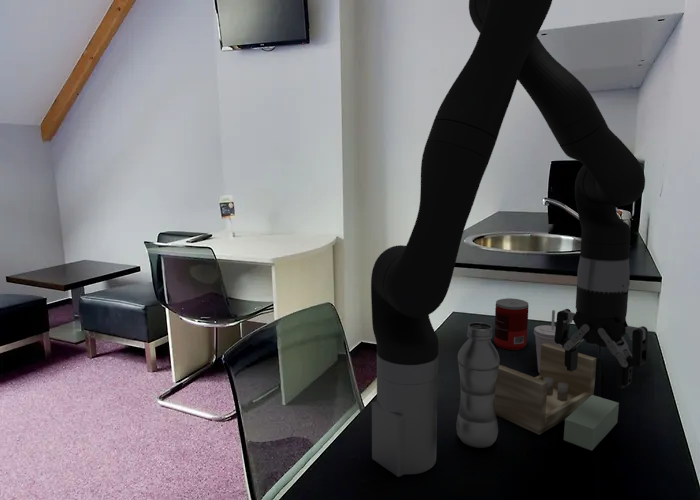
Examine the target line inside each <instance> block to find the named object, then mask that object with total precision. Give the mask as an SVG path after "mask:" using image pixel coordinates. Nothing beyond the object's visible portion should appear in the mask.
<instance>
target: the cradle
mask: <svg viewBox="0 0 700 500" xmlns="http://www.w3.org/2000/svg"><path fill="white" fill-rule="evenodd" d="M597 359H598V358H597V357H594V356H590V355H587V354H584V353H580V352H578V361H577V369H576V370H574V371H572V372H571V371H568V370H567V367H566V366H565V364H564V362H565V349H564V347H562V348H561V347H558V346H555V345H551V344H548V343H544V344H542V345H541V359H540V373H539V374H538V375H537V376H535V377H534V376H532V375H529V374H527V373H523V372H520V371H519V370H517V369H512V368H510V367H508V366H505V365H502V364H499V370H498V375H497V380H496V390H495V411H496V417H497V416H498V417H500V418H502V419H503V420H507V421H509V422H510V423H512V424H515V425H517V426H519V427H521V428H523V429H526V430H528V431H530V432H531V433H535V434H536V435H538V436H539V435H541V434H543V433H545V432H547V431H548V430H550V429H552V428H553V427H555V426H556V425H558V424H561V422H563V421H564V422H565V419H566V418H567V417H568V416H569V415H570V414H571V413H573V412H574V411H575V410H576V409H577V408H578V407H579V406H580V405H581V404H583V403H584V402H585V401H586V400H587V399H588V398H589V397H590V396H591V395H594V396H595V394H594V393H595V384H596V383H595V382H596V371H597V369H596V368H597Z"/></svg>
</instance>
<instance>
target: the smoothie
mask: <svg viewBox="0 0 700 500" xmlns="http://www.w3.org/2000/svg"><path fill="white" fill-rule="evenodd" d="M555 314H556V310H554V309H553V310H552V311H551V325H544V324H543V325H538V326H537V325H536V326H535V327H534V329H533V334H534V337H535V346H536V358H537V360H536V361H537V362H536V363H537V372H538V373H539V374H540V359H541V345H542V344H544V343H548V344H551V345H555V346H558V347H561V348H563V346H562V345H560V344H556V343H555V341H554V338H555V329H556V325H555V318H556V315H555Z"/></svg>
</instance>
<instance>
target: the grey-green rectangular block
mask: <svg viewBox="0 0 700 500" xmlns="http://www.w3.org/2000/svg"><path fill="white" fill-rule="evenodd" d="M619 405H620V403H619V402H618V401H614V400H610V399H607V398H604V397H601V396H597V395H595V394H594V395H591V396H590V397H589V398H588V399H587V400H586V401H585V402H584V403H583V404H581V405H580V406H579V407H578V408H577V409H576V410H575V411H574V412H573V413H571V414H570V415H569V416H568V417H567V418H566V419H565V420H564V430H563V441H565V442H567V443H570V444H573V445H576V446H578V447H580V448H583V449H586V450H589V451H593V450H594V449H595V448H596V447H597V446H598V445H599V444H600V442H601V441H602V440H603V439H604V438H605V437H606V436H607V435H608V434H609V433H610V431H612V429H614V427H615V426H616V425H617V424H618V419H619V418H618V417H619V408H620V406H619Z"/></svg>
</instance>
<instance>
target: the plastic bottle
mask: <svg viewBox="0 0 700 500" xmlns="http://www.w3.org/2000/svg"><path fill="white" fill-rule="evenodd" d="M466 337H467V338H468V339H467V340H466V341H465V342H464V343H463V345H462V346H461V347H460V349H459V351H458V354H457V363H458V371H459V379H460V380H459V383H460V398H459V408H458V409H459V410H458V414H457V417H456V423H455V426H456V427H455V428H456V434H457V437H458V438H459V439H460V441H461V442H462V443H464V444H465V445H467V446H469V447H472V448H477V449H485V448H489V447H491V446H493V444H494V443H495V442H496V441H497V437H498V434H499V427H498V419H497V418H498V417H497V415H496V411H495V390H496V380H497V375H498V370H499V365H501V364H500V362H501V359H500V355H499V352H498V350H497V349H496V347H495V345H494V344H493V343H492V341H491V340H492V339H493V325H491V324H489V323H487V322H486V323H485V322H477V321H476V322H470V323H468V326H467V332H466Z"/></svg>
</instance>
